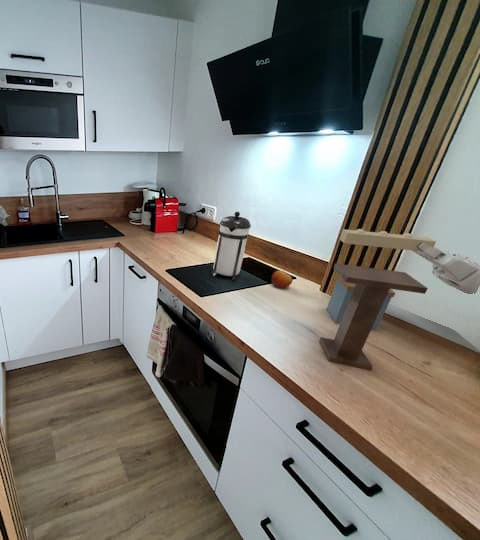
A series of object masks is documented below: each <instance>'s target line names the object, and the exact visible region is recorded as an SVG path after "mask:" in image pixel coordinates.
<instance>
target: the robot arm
mask: <svg viewBox="0 0 480 540" xmlns="http://www.w3.org/2000/svg"><path fill="white" fill-rule="evenodd" d="M417 247H418V248H420V249H421V250H423V251H424V252H422V251H413V252H414V253H415V254H416V255H418V256H419V257H421V256H422V257H421V258H423V259H424V258H425V259H424V260H426V261H428V262H429V263H431V264H432V275H433V276H434V277H436V278H437V279H439V280H440V281H442V282H443V283H445V284H446V285H447V286H449V287H452V288H454V289H455V290H457V289H458V290H460V291H462V292H464V293H467V294H473V293H474V294H475V293H476V292H477V290H478V288H479V286H480V265H479V264H478V263H477V262H475V261H474V260H473V259H471V258H470V257H469V256H467V255H465V254H460V255H459V254H458V255H456V254H449V253H447V252H448V251H445V250H442V249H440V248H438V247H436V246H434V247H433V248H432V247H430V246H429V245H427V244H426V243H423V242H421V243H419V244H418V245H417Z"/></svg>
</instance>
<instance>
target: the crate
mask: <svg viewBox="0 0 480 540" xmlns="http://www.w3.org/2000/svg"><path fill="white" fill-rule="evenodd" d="M355 286H356V284H355V283H348V282H345V281H344V280H343V279H342V277H341V276H340V275H339V274H338V273H337V275H336V282H335V286H334V288H333V290H332V293H331V296H330V299H329V301H328V304H327V307H326V311H327V313H328V315H329V316H330V318H331V319H332V322H334V323H333V324H338V325H340V323H341V321H342V318H343V316H344V313H345V311H346V308H347V306H348V303H349V301H350V298H351V296H352V293H353V291H354V288H355ZM395 295H396V292H395V291H394V290H393V289H389V292H388V294H387V296H386V298H385V300H384V303H383V305H382V307H381V309H380V311H379V313H378V316H377V318H376V320H375V322H374V324H373V327H372V329H371V331H377V330H378V328H379V325H380V323H381V321H382V320H383V317H384V316H385V315H384V314H385V312H386V310H387V308H388V307H389V304H390V302H391V300H392V298H394V297H395Z"/></svg>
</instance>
